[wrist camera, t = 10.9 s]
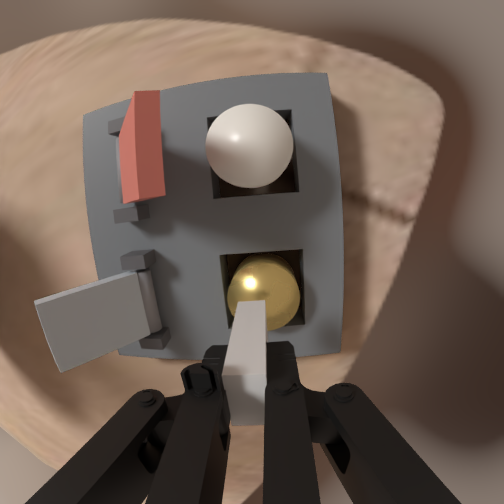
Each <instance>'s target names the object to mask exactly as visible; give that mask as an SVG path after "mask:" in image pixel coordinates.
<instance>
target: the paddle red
mask: <svg viewBox="0 0 504 504" xmlns="http://www.w3.org/2000/svg"><path fill="white" fill-rule="evenodd" d="M116 159H117V175H118V188H119V199H120V203H123V204H127V203H133V202H140V201H144V200H148V199H152V198H156V197H161V196H165V195H166V194H165V183H164V171H163V157H162V140H161V117H160V90H157V91H134V94H133V97H132V99H131V102H130V105H129V107H128V110H127V113H126V116H125V119H124V122H123V125H122V128H121V131H120V134H119V137H118V138H116Z"/></svg>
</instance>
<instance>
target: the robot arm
mask: <svg viewBox="0 0 504 504" xmlns="http://www.w3.org/2000/svg"><path fill="white" fill-rule="evenodd" d="M181 377H182V381H183V384H184V388H185V393H184V394H182V395H178V396H173V397H166V398H164V395H163V394H162V393H161V392H160V391H158V390H154V389H146V390H142V391H139V392H137V393H136V394H134V395H133V396H132V397H131V398H130V399H129V400H128V401H127V402H126V403H125V404H124V405H123V406H122V407H121V408H120V409H119V410H118V412H117V413H116V414H115V415H114V416H113V417H112V418H111V419H110V420H109V421H108V422H107V423H106V424H105V425H104V426H103V427H102V428H101V429H100V430H99V431H98V432H97V433H96V434H95V435H94V436H93V437H92V438H91V439H90V440H89V441H88V442H87V443H86V444H85V445H84V446H83V447H82V448H81V449H80V450H79V451H78V452H77V453H76V454H75V455H74V456H73V457H72V458H71V459H70V460H69V461H68V462H67V463H66V464H65V465H64V466H63V467H62V468H61V469H60V470H59V471H58V472H57V473H56V474H55V475H54V476H53V477H52V478H51V479H50V480H49V481H48V482H47V483H46V484H44V485H43V487H41V488H40V489H39V490H38V491H37V492H36V493H35V494H34V495H33V496H32V497H31V498H30V499H29V500H28V501H27V502H26V503H25V504H142V502H143V501H144V500H145V498H146V497H147V495H148V497H147V500H146V503H145V504H222V497H223V490H224V482H225V475H226V467H227V460H228V452H229V445H230V437H231V434H230V429H229V424H230V420H231V424H232V426H242V425H264V475H263V504H321V503H320V496H319V489H318V481H317V474H316V467H315V460H314V454H313V447H312V442H314V443H320V445H321V447H322V449H323V451H324V453H325V454H326V456H327V458H328V460H329V461H330V463H331V465H332V467H333V469H334V471H335V472H336V474H337V476H338V478H339V479H340V481H341V483H342V485H343V486H344V488H345V490H346V492H347V493H348V495H349V497H350V498H351V500H352V502H353V504H461V503H460V502H459V500H458V499H457V498H456V497H455V496H454V495H453V494H452V493H451V492H450V490H449V489H448V488H447V487H446V486H445V485H444V484H443V482H442V481H441V480H440V479H439V478H438V477H437V476H436V475H435V473H434V472H433V471H432V470H431V469H430V468H429V467H428V466H427V465H426V463H425V462H424V461H423V460H422V459H421V458H420V456H419V455H418V454H417V453H416V452H415V451H414V450H413V449H412V447H411V446H410V445H409V444H408V443H407V442H406V440H405V439H404V438H403V437H402V436H401V435H400V434H399V432H398V431H397V430H396V429H395V428H394V427H393V426H392V424H391V423H390V422H389V421H388V420H387V419H386V418H385V416H384V415H383V414H382V413H381V412H380V411H379V410H378V409H377V407H376V406H375V405H374V404H373V403H372V401H371V400H370V399H369V398H368V397H367V396H366V395H365V393H364V392H363V391H362V390H361V389H360V388H359V387H357V386H356V385H353V384H350V383H339V384H335V385H333V386H331V387H329V388H328V389H327V390H326V392H317V391H312V390H309V389H307V388H306V387H304V386H303V385H302V384H301V382H300V379H299V373H298V368H297V362H296V356H295V350H294V346H293V345H292V344H291V343H290V342H289V341H278V342H268V332H267V318H266V305H265V300H259V301H243V302H238V304H237V308H236V313H235V317H234V322H233V326H232V331H231V335H230V340H229V344H228V345H212V346H211V347H210V348H208V349H207V350H206V352H205V354H204V357H203V360H202V363H196V364H192V365H189V366H187V367H186V368H184V369H183V370H182V372H181Z"/></svg>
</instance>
